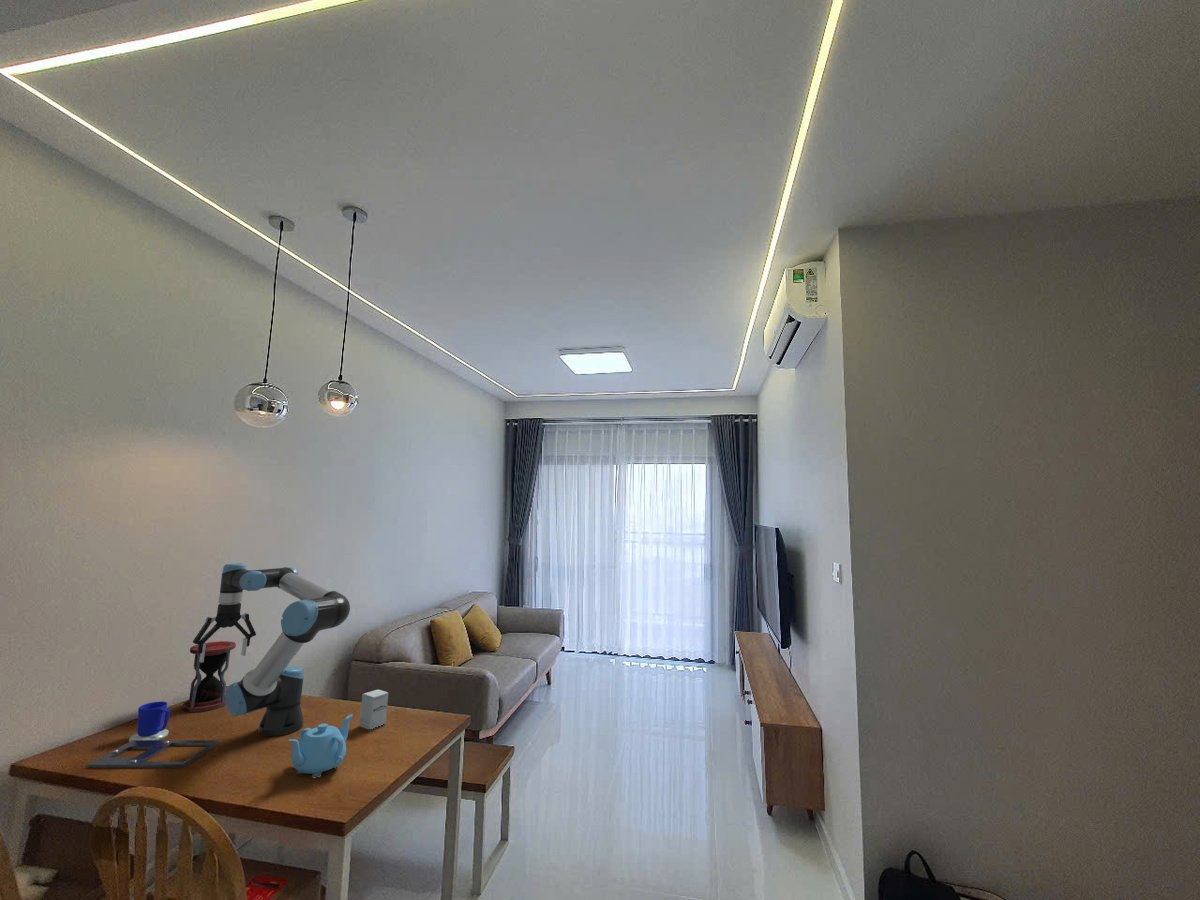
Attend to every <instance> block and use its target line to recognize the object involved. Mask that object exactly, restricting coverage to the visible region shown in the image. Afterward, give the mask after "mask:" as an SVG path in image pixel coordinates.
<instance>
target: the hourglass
mask: <svg viewBox="0 0 1200 900" xmlns="http://www.w3.org/2000/svg"><path fill="white" fill-rule="evenodd" d="M204 644H206V648H205V655H204V662H202V663H201V662H200V661H199V660H200V654H199V653H198V652H197V651H198V644H195V645H193V646H191V647H190V650H189V652H190V654H193V655H194V659H193V670H195V676H194V678H193V679H192V681H191V682H190V691H189V698H188V700H186V701H185V702H183V703H182V706H181V707H182V708H181V709H182V711H185V712H189V713H200V712H206V711H211V710H215V709H220V708H221V707H224V706H226V702H225V694H226V690H227V687H226V686H227V683H226V680H225V672H226V671H227V670H228V668H229V663H230V655H231V651H232V650H234V649H236V645H237V644H236V642H234V641H229V640H224V641H223V640H222V641H221V640H220V641H211V642H210V641H208V642H205V643H204ZM224 665H225V666H224ZM200 671H201V672H202V673H203V674H205V677H203V678H202V674H201V672H200ZM216 672H217V676H218V677H219V678H217V677H216V676H215V675H214V674H215V673H216Z"/></svg>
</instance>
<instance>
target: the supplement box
mask: <svg viewBox="0 0 1200 900" xmlns="http://www.w3.org/2000/svg"><path fill="white" fill-rule="evenodd" d="M388 702H389V692H387V691H385V690H382V689H375V690H371V691H368V692H365V693H362V694H361V705H360V715H359V723H358V724H359V727H360V726H361V727H360V728H362V727H364V728H363V729H365V728H367V729H372V730H374V729H376V728H375V727H377V728H379V727H378V726H380V727H382V726H381V725H383V724H385V723H387V712H388V704H389V703H388ZM385 725H386V724H385ZM383 726H384V725H383ZM373 728H374V729H373ZM367 729H366V730H367Z"/></svg>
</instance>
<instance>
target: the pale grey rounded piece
mask: <svg viewBox="0 0 1200 900" xmlns="http://www.w3.org/2000/svg"><path fill="white" fill-rule="evenodd" d="M169 732H170V731H169V730H168V729H166V728H165V729H164V730H163V731H159V732H158V733H156V734H154V735H150V736H139V735H138V733H135V734H132V735H131V736H130V737H129V739H128V742H130V741H132V740H162V739H164V738H166V737H167V736H168V735H169Z"/></svg>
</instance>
